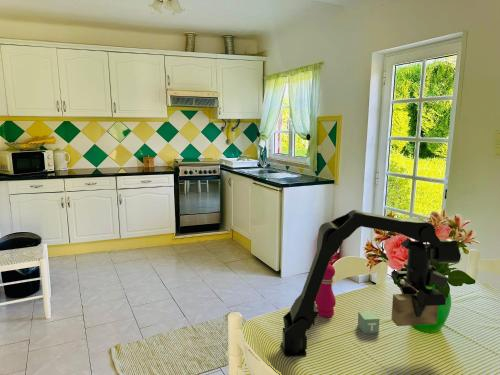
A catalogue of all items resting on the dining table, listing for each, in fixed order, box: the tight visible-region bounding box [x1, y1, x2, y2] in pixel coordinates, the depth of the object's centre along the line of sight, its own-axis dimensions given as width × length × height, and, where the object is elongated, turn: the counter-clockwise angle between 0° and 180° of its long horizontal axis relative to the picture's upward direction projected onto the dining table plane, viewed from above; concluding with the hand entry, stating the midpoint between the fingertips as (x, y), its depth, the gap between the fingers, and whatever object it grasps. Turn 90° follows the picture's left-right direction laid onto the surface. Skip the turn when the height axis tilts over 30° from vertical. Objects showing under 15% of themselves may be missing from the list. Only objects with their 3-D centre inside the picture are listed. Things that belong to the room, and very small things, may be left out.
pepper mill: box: [315, 263, 336, 318], centre depth 124 cm, size 7×7×20 cm
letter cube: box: [357, 310, 380, 335], centre depth 115 cm, size 5×5×5 cm
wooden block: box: [391, 292, 439, 327], centre depth 102 cm, size 12×4×8 cm, turn 96°
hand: (414, 313), depth 102 cm, fingers closed on wooden block, 3 cm apart
